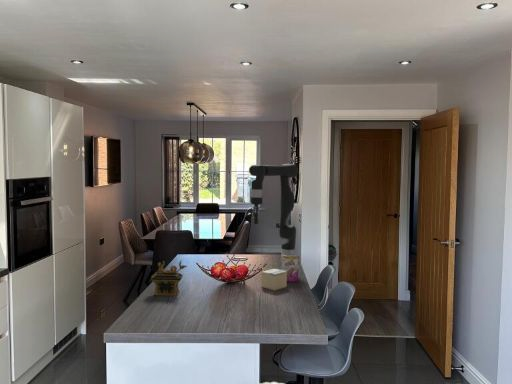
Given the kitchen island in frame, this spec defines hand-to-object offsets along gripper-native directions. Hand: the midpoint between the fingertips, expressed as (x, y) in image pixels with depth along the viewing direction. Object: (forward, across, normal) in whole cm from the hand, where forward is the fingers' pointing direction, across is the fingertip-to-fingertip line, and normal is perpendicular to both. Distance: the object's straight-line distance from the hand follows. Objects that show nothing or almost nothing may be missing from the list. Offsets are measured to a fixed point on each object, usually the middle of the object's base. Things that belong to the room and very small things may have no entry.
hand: (256, 223), depth 298 cm
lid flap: (+28, -12, -13) cm, 33 cm away
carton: (+37, -12, -13) cm, 41 cm away
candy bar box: (+37, +6, -22) cm, 44 cm away
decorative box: (+37, -37, +45) cm, 69 cm away
